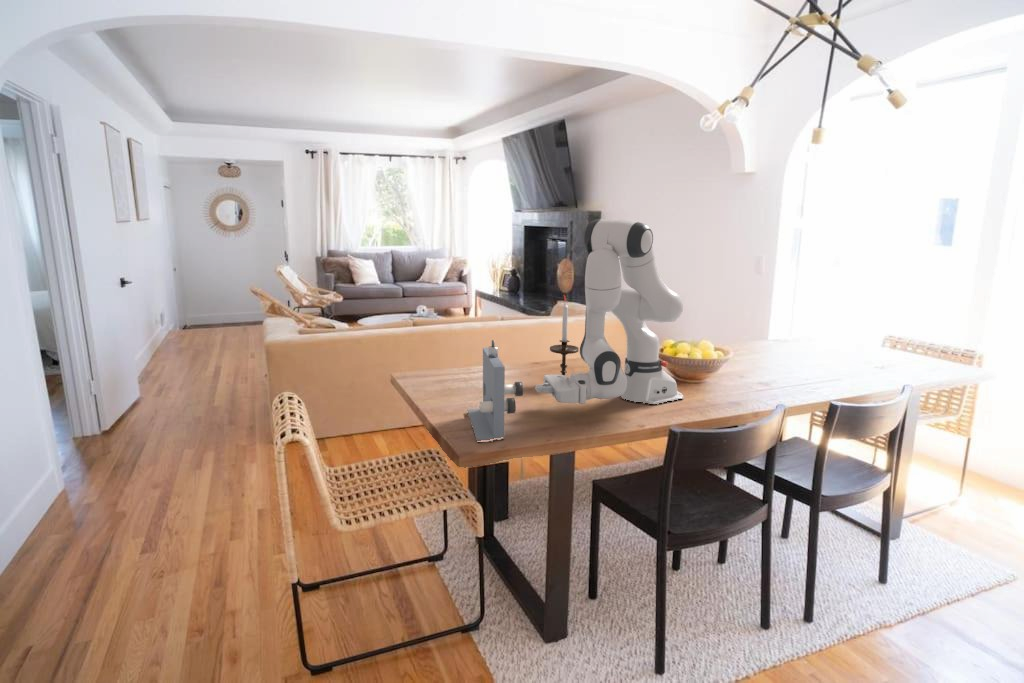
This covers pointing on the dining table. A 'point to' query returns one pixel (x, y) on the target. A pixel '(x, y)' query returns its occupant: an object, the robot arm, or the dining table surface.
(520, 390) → the knob
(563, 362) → the candlestick
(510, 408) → the knob
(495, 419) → the mount
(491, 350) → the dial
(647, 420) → the dining table surface
